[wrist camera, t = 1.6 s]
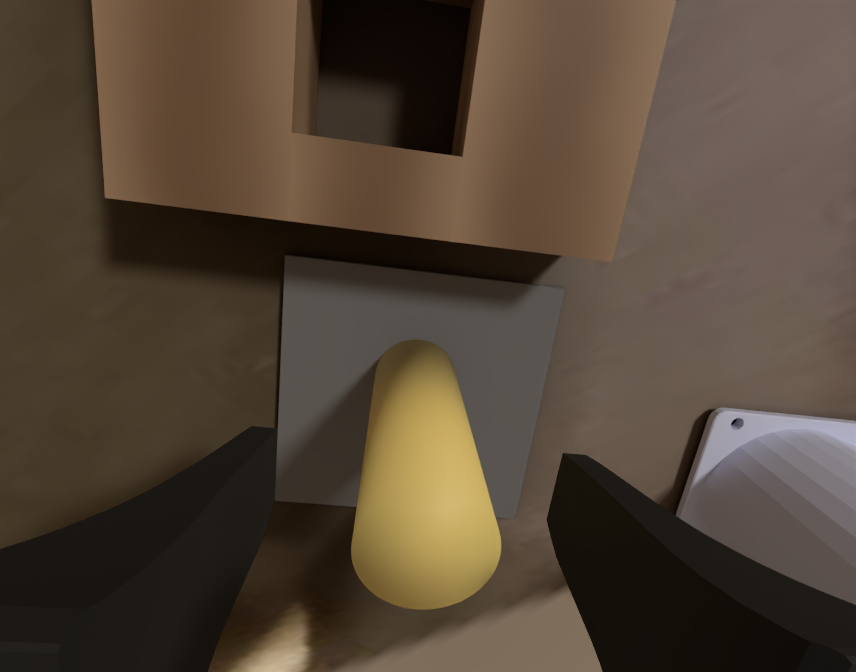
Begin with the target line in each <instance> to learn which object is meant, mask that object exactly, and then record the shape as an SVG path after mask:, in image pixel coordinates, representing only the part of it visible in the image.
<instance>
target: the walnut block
mask: <svg viewBox="0 0 856 672" xmlns="http://www.w3.org/2000/svg"><path fill="white" fill-rule="evenodd" d="M425 1H430V2H436V3H442V4H448V5H454V6H460V7H466V8H471V12H470V20H469V27H468V35H467V42H466V49H465V57H464V64H463V71H462V79H461V86H460V94H459V101H458V108H457V116H456V123H455V130H454V138H453V145H452V153H451V155H445V154H438V153H431V152H424V151H417V150H410V149H403V148H396V147H389V146H382V145H375V144H368V143H361V142H354V141H347V140H340V139H333V138H326V137H319V136H315V133H316V115H317V97H318V79H319V61H320V43H321V25H322V7H323V0H92V13H93V28H94V42H95V57H96V71H97V86H98V101H99V115H100V130H101V145H102V159H103V174H104V189H105V198H110V199H118V200H126V201H134V202H142V203H150V204H157V205H165V206H173V207H181V208H189V209H197V210H205V211H213V212H221V213H228V214H236V215H244V216H252V217H260V218H268V219H276V220H284V221H292V222H300V223H307V224H315V225H323V226H331V227H339V228H347V229H355V230H363V231H371V232H379V233H386V234H394V235H402V236H410V237H418V238H426V239H434V240H442V241H450V242H458V243H465V244H473V245H481V246H489V247H497V248H505V249H513V250H521V251H529V252H537V253H544V254H552V255H560V256H568V257H576V258H584V259H592V260H600V261H608V262H612V261H613V257H614V253H615V249H616V245H617V241H618V237H619V233H620V229H621V225H622V221H623V217H624V212H625V208H626V204H627V200H628V196H629V192H630V188H631V184H632V180H633V176H634V172H635V168H636V163H637V159H638V155H639V151H640V147H641V143H642V139H643V135H644V131H645V127H646V123H647V119H648V115H649V110H650V106H651V102H652V98H653V94H654V90H655V86H656V82H657V78H658V74H659V70H660V66H661V62H662V57H663V53H664V49H665V45H666V41H667V37H668V33H669V29H670V25H671V21H672V17H673V13H674V8H675V4H676V0H425Z"/></svg>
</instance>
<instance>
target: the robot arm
mask: <svg viewBox="0 0 856 672" xmlns="http://www.w3.org/2000/svg"><path fill="white" fill-rule="evenodd" d="M736 418H737V421H736V422H735V423H734V424H732V425H731V423H732V421H733V420H734V419H736ZM276 450H277V428H266V427H255V426H251V427H250V428H248V429H247V430H245V431H243V432H242V433H241V434H239V435H238V436H236V437H235V438H233V439H232V440H230V441H229V442H227V443H226V444H224V445H223V446H222V447H220V448H219V449H217V450H216V451H214V452H212V453H211V454H209V455H208V456H206V457H205V458H203V459H202V460H200V461H199V462H197V463H196V464H194V465H192V466H191V467H189V468H187V469H186V470H184V471H182V472H180V473H179V474H177V475H175V476H174V477H172V478H170V479H169V480H167V481H165V482H164V483H162V484H160V485H158V486H156V487H155V488H153V489H151V490H149V491H147V492H145V493H143V494H141V495H139V496H137V497H135V498H133V499H131V500H129V501H126V502H124V503H122V504H120V505H118V506H116V507H114V508H111V509H109V510H107V511H104V512H102V513H99V514H97V515H94V516H92V517H89V518H87V519H84V520H82V521H79V522H77V523H74V524H72V525H69V526H67V527H64V528H62V529H59V530H57V531H54V532H51V533H48V534H45V535H42V536H39V537H36V538H33V539H30V540H27V541H24V542H21V543H18V544H15V545H12V546H8V547H5V548H2V549H0V672H208V669H209V666H210V663H211V660H212V657H213V654H214V651H215V648H216V645H217V643H218V640H219V638H220V635H221V633H222V630H223V628H224V625H225V623H226V621H227V618H228V616H229V614H230V612H231V609H232V607H233V605H234V603H235V600H236V598H237V596H238V594H239V591H240V589H241V587H242V585H243V582H244V580H245V578H246V576H247V574H248V571H249V569H250V567H251V564H252V562H253V560H254V558H255V555H256V553H257V551H258V549H259V546H260V544H261V542H262V539H263V537H264V533H265V530H266V527H267V524H268V521H269V517H270V514H271V510H272V507H273V503H274V500H275V475H276ZM547 523H548V527H549V531H550V535H551V539H552V543H553V547H554V550H555V554H556V557H557V559H558V562H559V565H560V567H561V569H562V572H563V574H564V577H565V579H566V582H567V584H568V586H569V589H570V591H571V594H572V596H573V598H574V601H575V603H576V605H577V608H578V610H579V613H580V615H581V617H582V620H583V622H584V624H585V627H586V629H587V631H588V634H589V636H590V638H591V641H592V643H593V646H594V649H595V651H596V654H597V657H598V659H599V662H600V665H601V668H602V671H603V672H856V421H852V420H842V419H832V418H822V417H812V416H802V415H792V414H782V413H772V412H763V411H753V410H743V409H733V408H718V409H716V410H714V411H713V412H712V413H711V414H710V416H709V418H708V420H707V423H706V426H705V429H704V432H703V435H702V438H701V441H700V444H699V447H698V450H697V453H696V456H695V459H694V462H693V465H692V468H691V471H690V474H689V477H688V480H687V483H686V486H685V489H684V492H683V494H682V497H681V500H680V503H679V506H678V509H677V512H676V515H674V514H672V513H671V512H669V511H667V510H666V509H664V508H663V507H662V506H660V505H659V504H657V503H656V502H654V501H653V500H651V499H650V498H648V497H647V496H645V495H644V494H643V493H641V492H640V491H638V490H637V489H635V488H634V487H633V486H631V485H630V484H628V483H627V482H626V481H624V480H623V479H621V478H620V477H619V476H617V475H616V474H614V473H613V472H611V471H610V470H609V469H607V468H606V467H604V466H603V465H601V464H600V463H598V462H597V461H595V460H593V459H592V458H590V457H588V456H586V455H578V454H567V453H563V455H562V459H561V463H560V467H559V471H558V475H557V479H556V483H555V488H554V492H553V496H552V500H551V504H550V508H549V512H548V516H547Z"/></svg>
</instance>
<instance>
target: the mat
mask: <svg viewBox="0 0 856 672" xmlns="http://www.w3.org/2000/svg"><path fill="white" fill-rule="evenodd" d="M564 294H565V288H563V287H556V286H547V285H539V284H531V283H522V282H514V281H506V280H498V279H489V278H481V277H473V276H464V275H456V274H448V273H440V272H431V271H423V270H415V269H406V268H398V267H390V266H381V265H373V264H365V263H357V262H348V261H340V260H332V259H323V258H315V257H307V256H299V255H290V254H286V255H285V266H284V291H283V315H282V340H281V364H280V389H279V413H278V437H277V462H276V486H275V501H285V502H298V503H311V504H324V505H337V506H350V507H357V501H358V494H359V487H360V480H361V473H362V466H363V458H364V451H365V444H366V437H367V430H368V423H369V415H370V408H371V401H372V394H373V387H374V380H375V373H376V368H377V364H378V362H379V360H380V358H381V357H382V355H383V354H384V353H385V352H386V351H387V350H388V349H389V348H390V347H392V346H393V345H395V344H397V343H399V342H402V341H405V340H412V339H420V340H426V341H429V342H432V343H434V344H436V345H437V346H439V347H440V348H442V349H443V350H444V351H445V352H446V353H447V355H448V356H449V357H450V359H451V361H452V364H453V367H454V370H455V374H456V377H457V381H458V385H459V388H460V392H461V395H462V399H463V403H464V406H465V410H466V413H467V417H468V421H469V424H470V428H471V431H472V435H473V439H474V442H475V446H476V449H477V453H478V457H479V460H480V464H481V467H482V471H483V475H484V478H485V482H486V485H487V489H488V493H489V496H490V500H491V503H492V507H493V511H494V514H495V518H508V519H515V517H516V512H517V508H518V503H519V499H520V494H521V489H522V485H523V480H524V476H525V471H526V467H527V462H528V458H529V453H530V448H531V444H532V439H533V435H534V430H535V426H536V421H537V417H538V412H539V407H540V403H541V398H542V394H543V389H544V385H545V380H546V376H547V371H548V367H549V362H550V357H551V353H552V348H553V344H554V339H555V335H556V330H557V326H558V321H559V316H560V312H561V307H562V303H563V298H564Z"/></svg>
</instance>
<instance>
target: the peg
mask: <svg viewBox="0 0 856 672" xmlns="http://www.w3.org/2000/svg"><path fill="white" fill-rule="evenodd" d="M500 553H501V538H500V532H499V529H498V525H497V521H496V518H495V514H494V511H493V507H492V503H491V500H490V496H489V493H488V489H487V485H486V482H485V478H484V475H483V471H482V467H481V464H480V460H479V457H478V453H477V449H476V446H475V442H474V439H473V435H472V431H471V428H470V424H469V421H468V417H467V413H466V410H465V406H464V403H463V399H462V395H461V392H460V388H459V385H458V381H457V377H456V374H455V370H454V367H453V364H452V361H451V359H450V357H449V356H448V355H447V353H446V352H445V351H444V350H443V349H442V348H440V347H439V346H437V345H436V344H434V343H432V342H429V341H426V340H420V339H412V340H405V341H402V342H399V343H397V344H395V345H393V346H392V347H390V348H389V349H388V350H387V351H386V352H385V353H384V354H383V355H382V357H381V358H380V360H379V362H378V364H377V368H376V373H375V380H374V387H373V394H372V401H371V408H370V415H369V423H368V430H367V437H366V444H365V451H364V458H363V466H362V473H361V480H360V487H359V494H358V501H357V509H356V516H355V523H354V530H353V537H352V544H351V557H352V563H353V566H354V569H355V571H356V573H357V575H358V577H359V579H360V580H361V582H362V583H363V584H364V585H365V586H366V587H367V588H368V590H370V591H371V592H372V593H373V594H374V595H376V596H377V597H379V598H381V599H382V600H384V601H386V602H388V603H391V604H394V605H397V606H400V607H404V608H409V609H437V608H442V607H446V606H449V605H453V604H455V603H458V602H460V601H462V600H464V599H466V598H468V597H470V596H471V595H473V594H474V593H475V592H477V591H478V590H479V589H480V588H481V587H483V586H484V585H485V583H486V582H487V581H488V580H489V579H490V577H491V576H492V574H493V573H494V571H495V569H496V567H497V565H498V562H499V558H500Z"/></svg>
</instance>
